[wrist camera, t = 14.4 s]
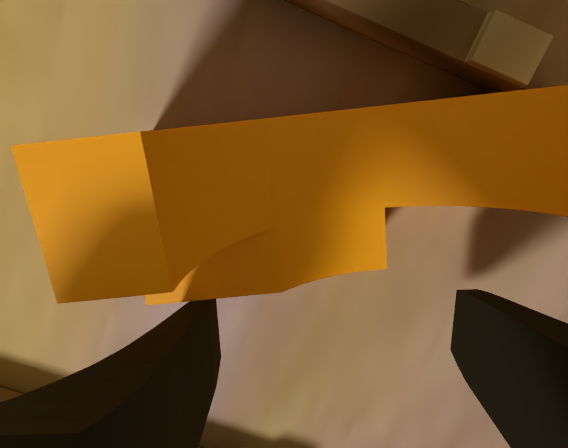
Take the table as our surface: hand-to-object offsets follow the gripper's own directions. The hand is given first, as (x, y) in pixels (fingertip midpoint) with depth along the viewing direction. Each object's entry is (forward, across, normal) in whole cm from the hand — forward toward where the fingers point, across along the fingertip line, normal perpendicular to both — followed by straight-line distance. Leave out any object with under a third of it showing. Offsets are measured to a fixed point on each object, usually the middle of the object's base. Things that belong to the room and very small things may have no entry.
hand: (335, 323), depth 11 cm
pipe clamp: (+2, -1, -4) cm, 5 cm away
